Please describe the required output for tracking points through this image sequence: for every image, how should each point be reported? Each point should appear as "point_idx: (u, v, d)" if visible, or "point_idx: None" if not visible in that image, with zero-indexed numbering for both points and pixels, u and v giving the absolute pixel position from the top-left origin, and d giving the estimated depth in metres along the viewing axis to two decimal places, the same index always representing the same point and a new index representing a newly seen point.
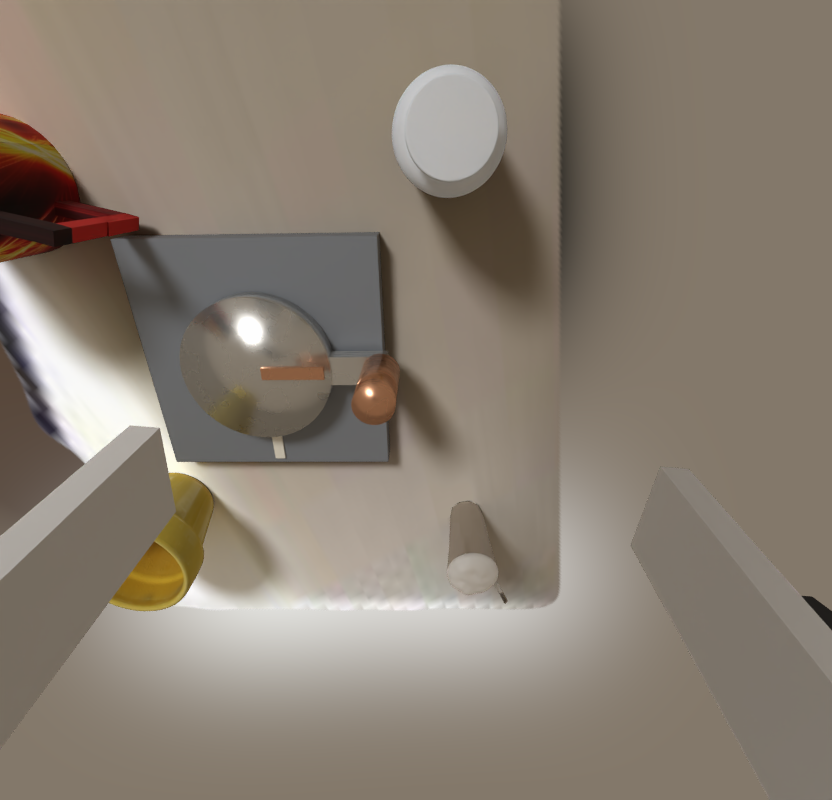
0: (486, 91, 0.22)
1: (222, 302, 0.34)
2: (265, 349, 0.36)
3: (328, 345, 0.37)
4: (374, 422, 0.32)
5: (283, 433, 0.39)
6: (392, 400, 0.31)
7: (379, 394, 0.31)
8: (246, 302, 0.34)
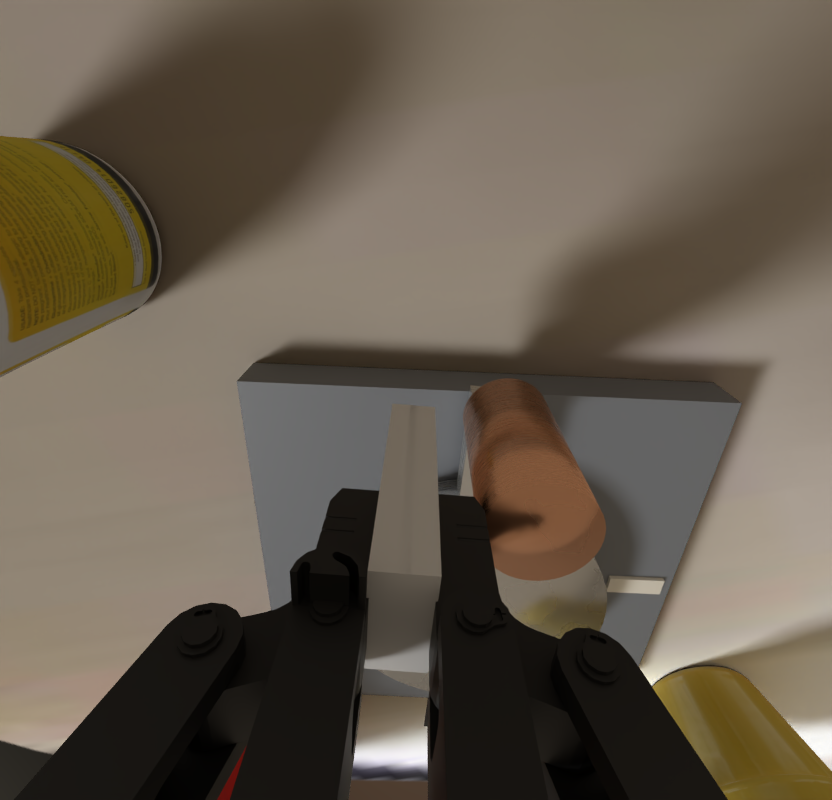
0: None
1: None
2: None
3: (443, 488, 0.19)
4: (595, 539, 0.11)
5: (602, 601, 0.20)
6: (536, 490, 0.10)
7: (509, 517, 0.11)
8: None
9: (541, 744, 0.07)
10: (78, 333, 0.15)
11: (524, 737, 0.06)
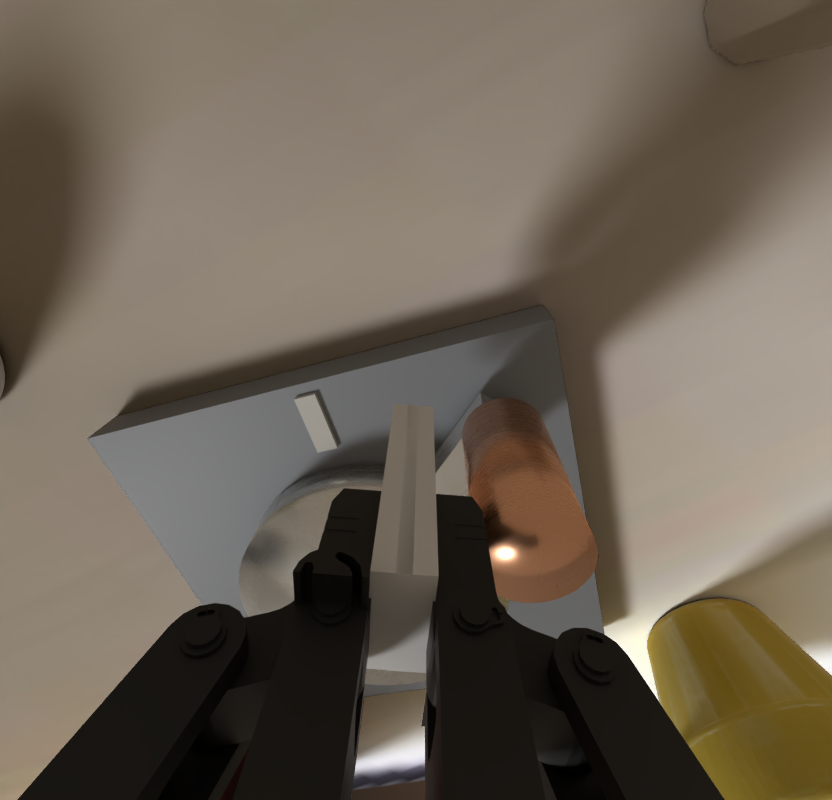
0: None
1: (241, 571, 0.20)
2: None
3: None
4: (577, 580, 0.12)
5: None
6: (556, 517, 0.11)
7: (518, 533, 0.11)
8: (256, 546, 0.19)
9: (538, 743, 0.07)
10: None
11: (521, 736, 0.06)
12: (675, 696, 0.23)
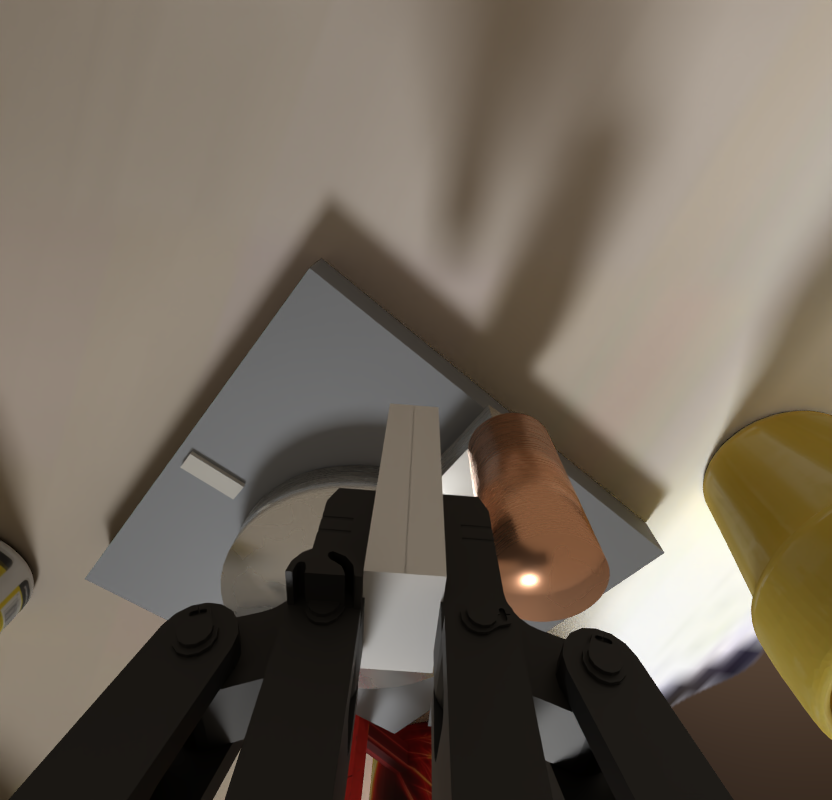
0: None
1: (225, 566, 0.19)
2: None
3: None
4: (585, 602, 0.12)
5: None
6: (574, 540, 0.11)
7: (535, 553, 0.11)
8: (244, 541, 0.19)
9: (547, 744, 0.07)
10: None
11: (529, 738, 0.06)
12: (738, 556, 0.18)
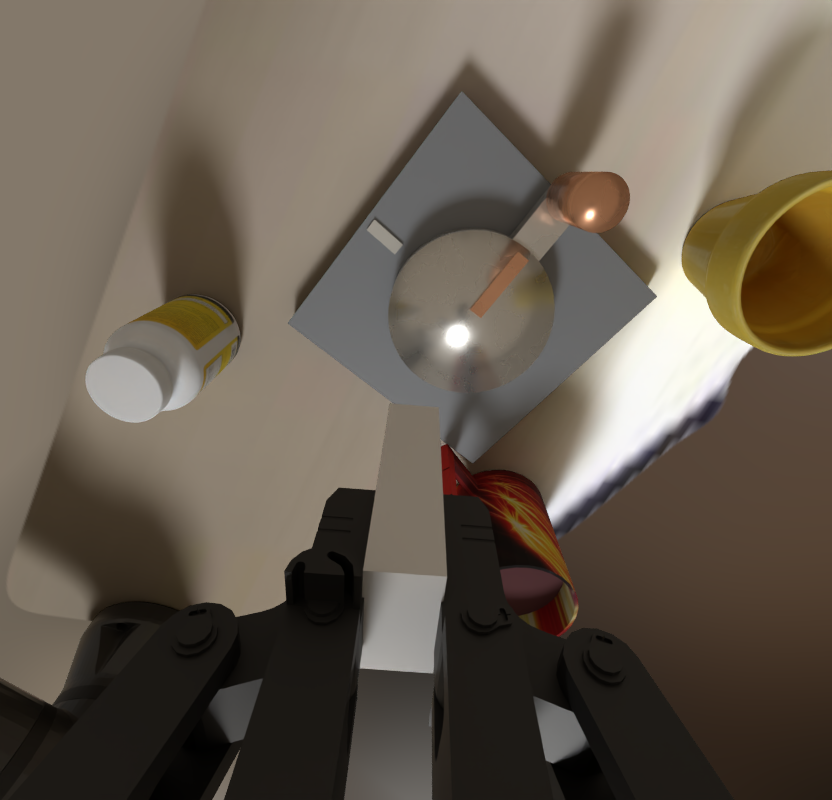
0: (88, 391, 0.28)
1: (394, 287, 0.32)
2: (459, 289, 0.32)
3: (502, 233, 0.32)
4: (617, 218, 0.25)
5: (541, 348, 0.34)
6: (614, 176, 0.24)
7: (596, 184, 0.24)
8: (410, 266, 0.32)
9: (547, 745, 0.07)
10: (221, 348, 0.34)
11: (529, 738, 0.06)
12: (699, 275, 0.32)
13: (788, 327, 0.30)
